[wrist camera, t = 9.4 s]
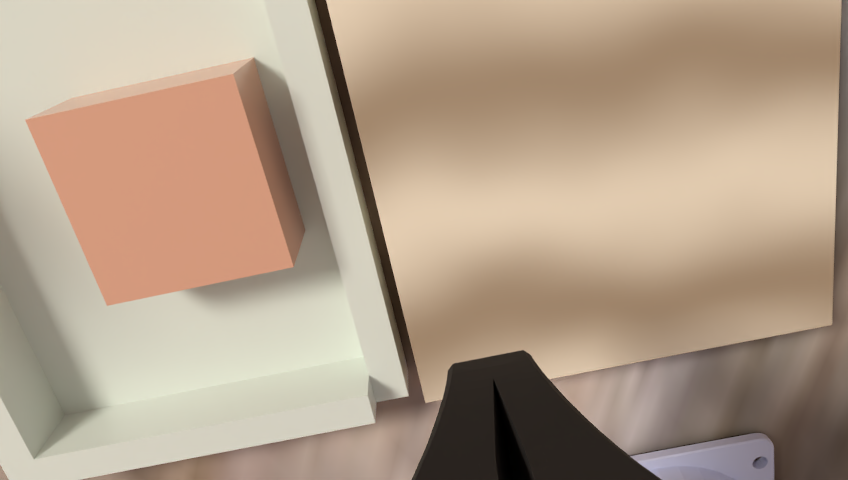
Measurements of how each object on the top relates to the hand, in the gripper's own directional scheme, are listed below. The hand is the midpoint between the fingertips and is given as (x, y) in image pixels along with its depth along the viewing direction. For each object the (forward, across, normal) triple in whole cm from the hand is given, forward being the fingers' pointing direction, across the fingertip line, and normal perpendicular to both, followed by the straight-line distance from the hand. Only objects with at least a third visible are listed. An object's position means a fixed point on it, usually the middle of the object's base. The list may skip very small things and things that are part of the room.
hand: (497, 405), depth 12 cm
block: (+9, +7, -3) cm, 12 cm away
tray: (+9, +8, -3) cm, 13 cm away
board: (+9, -4, -3) cm, 11 cm away
